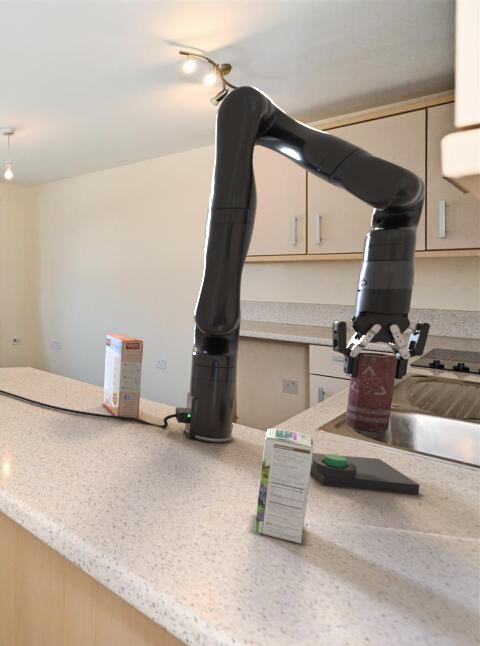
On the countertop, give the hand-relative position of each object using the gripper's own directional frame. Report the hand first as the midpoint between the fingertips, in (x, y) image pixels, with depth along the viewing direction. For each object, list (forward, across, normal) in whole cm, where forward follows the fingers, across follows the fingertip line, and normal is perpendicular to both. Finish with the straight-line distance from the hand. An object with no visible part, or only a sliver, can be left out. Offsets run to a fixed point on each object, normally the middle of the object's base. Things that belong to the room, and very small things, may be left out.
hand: (373, 377), depth 86 cm
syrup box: (+19, +22, +27) cm, 40 cm away
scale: (+19, +2, +2) cm, 19 cm away
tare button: (+16, +7, +6) cm, 18 cm away
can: (+10, 0, 0) cm, 10 cm away
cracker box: (+19, +42, -31) cm, 56 cm away
